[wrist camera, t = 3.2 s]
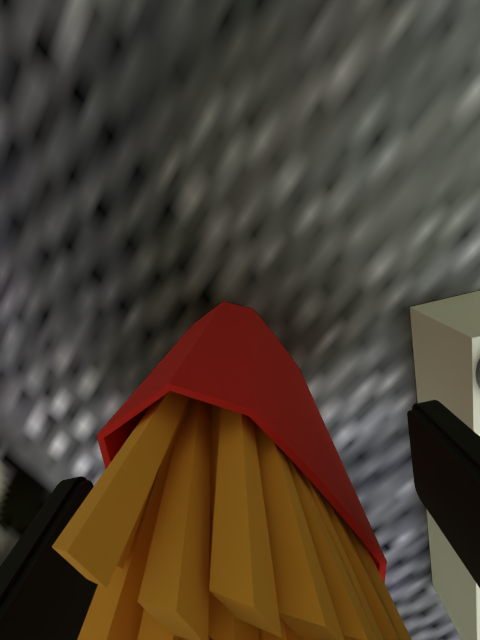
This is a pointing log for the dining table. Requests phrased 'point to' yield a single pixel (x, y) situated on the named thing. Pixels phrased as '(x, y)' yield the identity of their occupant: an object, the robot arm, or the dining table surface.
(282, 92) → the dining table surface
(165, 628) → the french fries
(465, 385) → the gold-rimmed square tray
